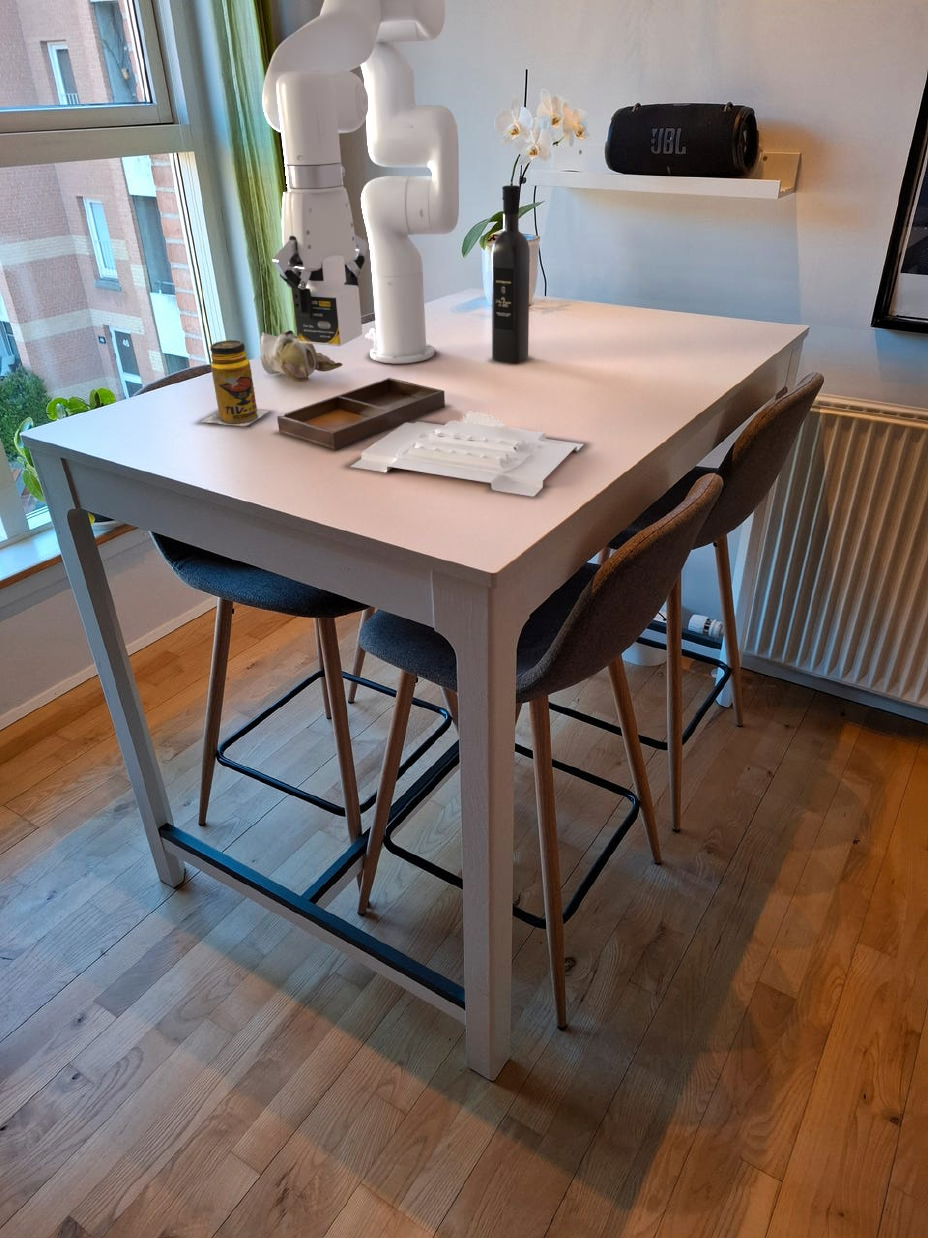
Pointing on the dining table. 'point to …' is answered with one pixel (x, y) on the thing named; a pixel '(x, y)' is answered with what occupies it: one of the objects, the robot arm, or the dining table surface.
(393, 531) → the dining table surface
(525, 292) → the wine bottle
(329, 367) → the ceramic sculpture
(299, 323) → the medicine bottle
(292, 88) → the robot arm
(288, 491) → the dining table surface
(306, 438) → the dark wooden divided tray
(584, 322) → the dining table surface
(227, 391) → the condiment
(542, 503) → the dining table surface
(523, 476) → the tray
